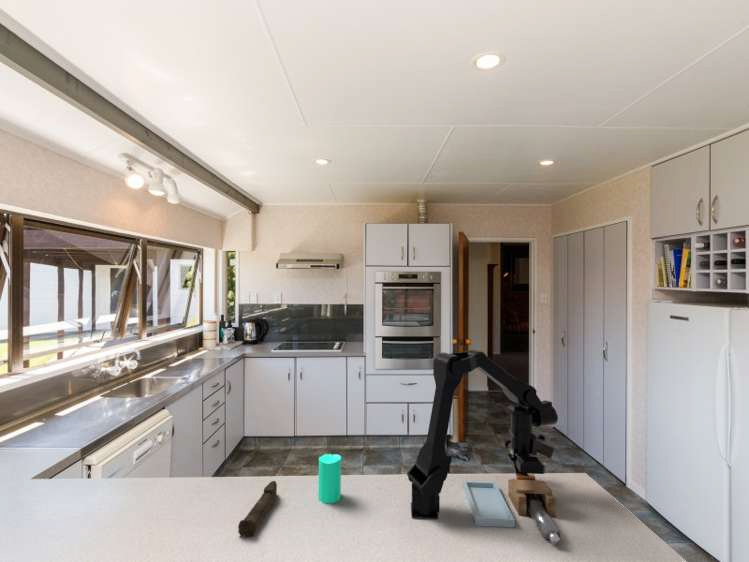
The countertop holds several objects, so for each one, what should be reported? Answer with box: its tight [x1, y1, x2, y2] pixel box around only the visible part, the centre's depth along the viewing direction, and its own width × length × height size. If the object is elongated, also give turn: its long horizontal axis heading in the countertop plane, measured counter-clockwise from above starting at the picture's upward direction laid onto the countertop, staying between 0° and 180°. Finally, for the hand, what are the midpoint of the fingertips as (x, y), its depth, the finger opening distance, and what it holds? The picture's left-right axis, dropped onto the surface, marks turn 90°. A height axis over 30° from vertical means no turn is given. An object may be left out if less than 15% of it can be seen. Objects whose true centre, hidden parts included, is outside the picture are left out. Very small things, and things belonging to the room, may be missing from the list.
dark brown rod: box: [237, 480, 278, 538], centre depth 97 cm, size 19×4×5 cm, turn 172°
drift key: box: [515, 473, 541, 508], centre depth 103 cm, size 5×9×6 cm, turn 177°
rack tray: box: [462, 480, 516, 528], centre depth 102 cm, size 9×19×2 cm, turn 177°
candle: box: [317, 453, 342, 504], centre depth 105 cm, size 6×6×12 cm
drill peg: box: [526, 500, 562, 547], centre depth 91 cm, size 4×13×4 cm, turn 177°
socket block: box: [507, 478, 556, 518], centre depth 102 cm, size 9×9×5 cm
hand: (521, 484), depth 109 cm, fingers closed
